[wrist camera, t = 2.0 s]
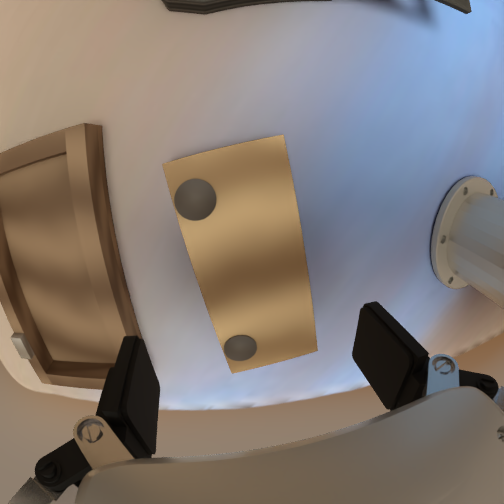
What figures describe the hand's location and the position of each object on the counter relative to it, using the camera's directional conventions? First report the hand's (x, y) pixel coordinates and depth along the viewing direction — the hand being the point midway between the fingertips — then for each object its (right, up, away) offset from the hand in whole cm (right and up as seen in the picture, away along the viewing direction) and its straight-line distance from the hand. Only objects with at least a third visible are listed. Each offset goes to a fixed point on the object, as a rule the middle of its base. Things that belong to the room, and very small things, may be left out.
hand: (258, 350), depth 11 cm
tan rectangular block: (-1, +4, +10) cm, 11 cm away
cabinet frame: (-16, +2, +8) cm, 19 cm away
